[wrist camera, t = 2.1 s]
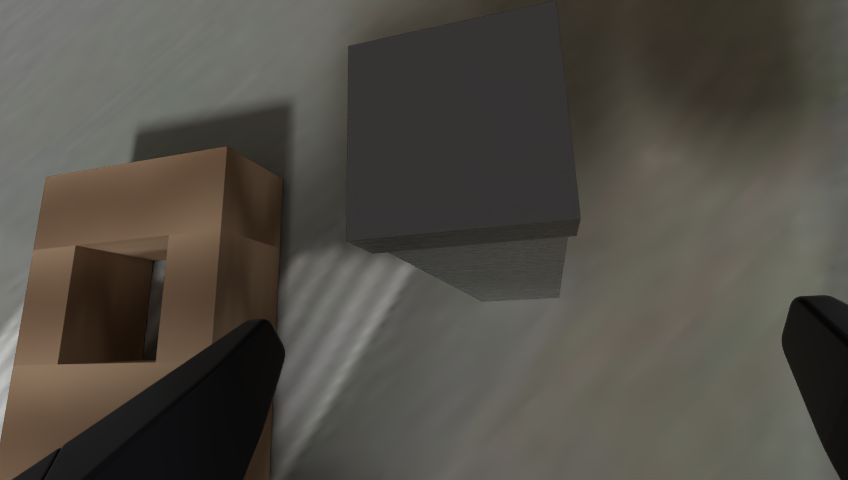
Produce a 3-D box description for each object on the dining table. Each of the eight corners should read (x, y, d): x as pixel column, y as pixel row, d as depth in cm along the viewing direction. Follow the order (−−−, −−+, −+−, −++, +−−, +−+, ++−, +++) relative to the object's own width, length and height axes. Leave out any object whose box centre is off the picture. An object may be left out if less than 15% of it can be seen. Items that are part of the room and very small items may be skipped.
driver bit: (561, 299, 17) (579, 218, 6) (479, 304, 18) (346, 240, 6) (554, 220, 18) (555, 0, 6) (475, 227, 19) (347, 46, 7)
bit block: (260, 659, 17) (181, 747, 14) (69, 625, 20) (-43, 691, 16) (282, 179, 22) (227, 146, 18) (123, 201, 25) (45, 176, 21)
